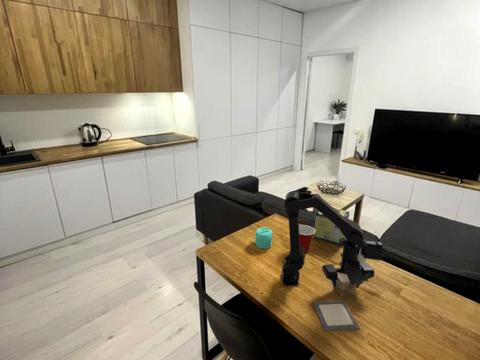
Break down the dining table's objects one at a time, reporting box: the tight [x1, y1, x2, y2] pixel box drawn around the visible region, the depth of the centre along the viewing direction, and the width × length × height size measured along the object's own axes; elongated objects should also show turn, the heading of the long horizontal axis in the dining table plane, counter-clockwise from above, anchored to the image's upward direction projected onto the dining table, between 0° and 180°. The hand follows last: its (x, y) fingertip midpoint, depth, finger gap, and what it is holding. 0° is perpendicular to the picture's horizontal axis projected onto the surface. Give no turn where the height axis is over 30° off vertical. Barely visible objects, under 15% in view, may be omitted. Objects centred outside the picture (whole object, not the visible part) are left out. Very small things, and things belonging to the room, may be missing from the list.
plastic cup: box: [299, 224, 316, 254], centre depth 130 cm, size 11×11×12 cm
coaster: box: [312, 300, 361, 332], centre depth 93 cm, size 12×12×1 cm
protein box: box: [313, 208, 350, 246], centre depth 139 cm, size 10×16×16 cm
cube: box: [336, 274, 357, 297], centre depth 104 cm, size 6×6×6 cm
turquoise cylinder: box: [254, 226, 273, 249], centre depth 135 cm, size 8×8×8 cm
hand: (345, 288), depth 104 cm, fingers open, 9 cm apart
